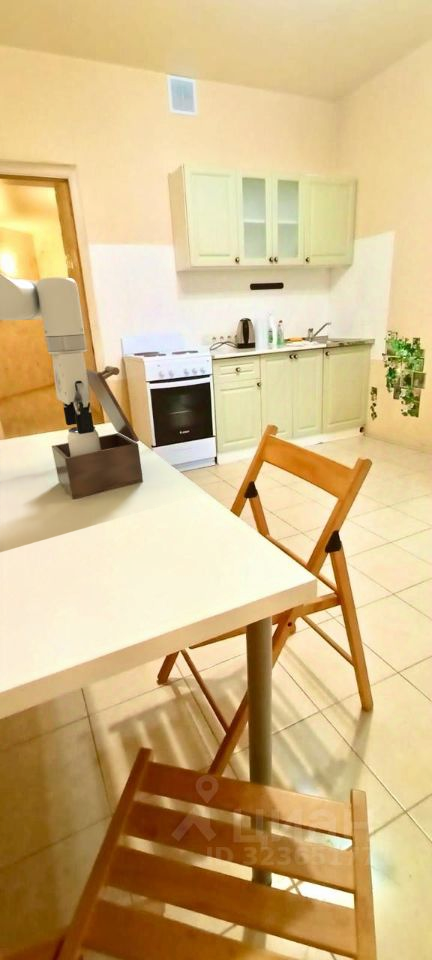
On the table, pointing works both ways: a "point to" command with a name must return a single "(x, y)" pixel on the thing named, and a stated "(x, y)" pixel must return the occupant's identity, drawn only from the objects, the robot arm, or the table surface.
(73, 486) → the chest
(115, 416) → the lid
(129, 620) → the table surface
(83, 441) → the can
